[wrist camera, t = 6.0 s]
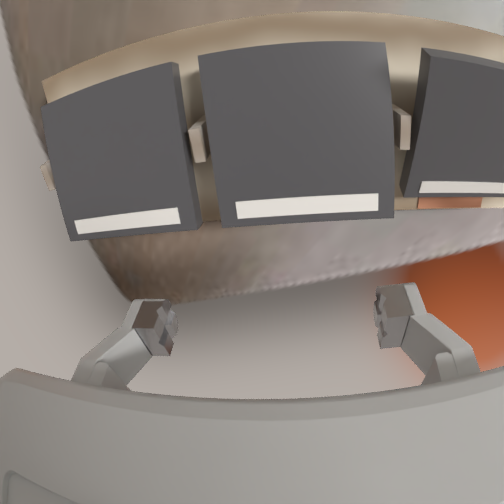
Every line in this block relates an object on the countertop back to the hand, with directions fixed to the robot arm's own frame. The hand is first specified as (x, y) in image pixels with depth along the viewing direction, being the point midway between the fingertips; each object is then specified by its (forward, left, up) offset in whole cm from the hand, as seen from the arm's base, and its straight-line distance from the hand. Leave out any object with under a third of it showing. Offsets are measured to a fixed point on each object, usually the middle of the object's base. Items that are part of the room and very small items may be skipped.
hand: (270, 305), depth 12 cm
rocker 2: (-4, +13, -9) cm, 16 cm away
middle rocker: (-4, +2, -9) cm, 10 cm away
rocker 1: (-4, -10, -9) cm, 14 cm away
